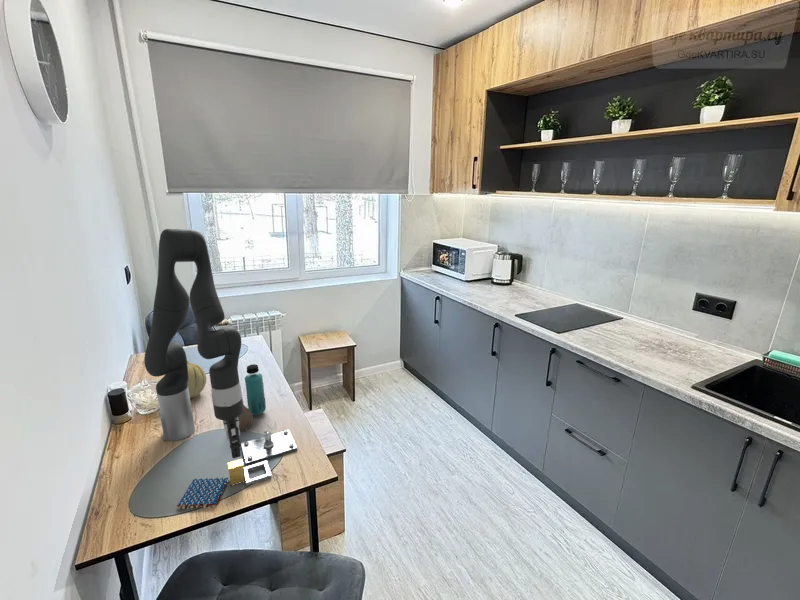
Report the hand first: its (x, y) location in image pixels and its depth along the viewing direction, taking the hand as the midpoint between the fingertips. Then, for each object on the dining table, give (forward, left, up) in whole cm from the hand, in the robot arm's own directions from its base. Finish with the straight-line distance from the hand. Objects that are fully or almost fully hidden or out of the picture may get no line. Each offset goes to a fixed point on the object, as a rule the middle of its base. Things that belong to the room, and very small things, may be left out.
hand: (234, 448), depth 110 cm
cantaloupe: (-12, +60, -12) cm, 62 cm away
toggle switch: (+11, +11, -11) cm, 19 cm away
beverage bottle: (+11, +34, -12) cm, 38 cm away
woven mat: (-9, -1, -12) cm, 15 cm away
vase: (+5, +27, -12) cm, 30 cm away
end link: (+3, 0, -11) cm, 12 cm away
